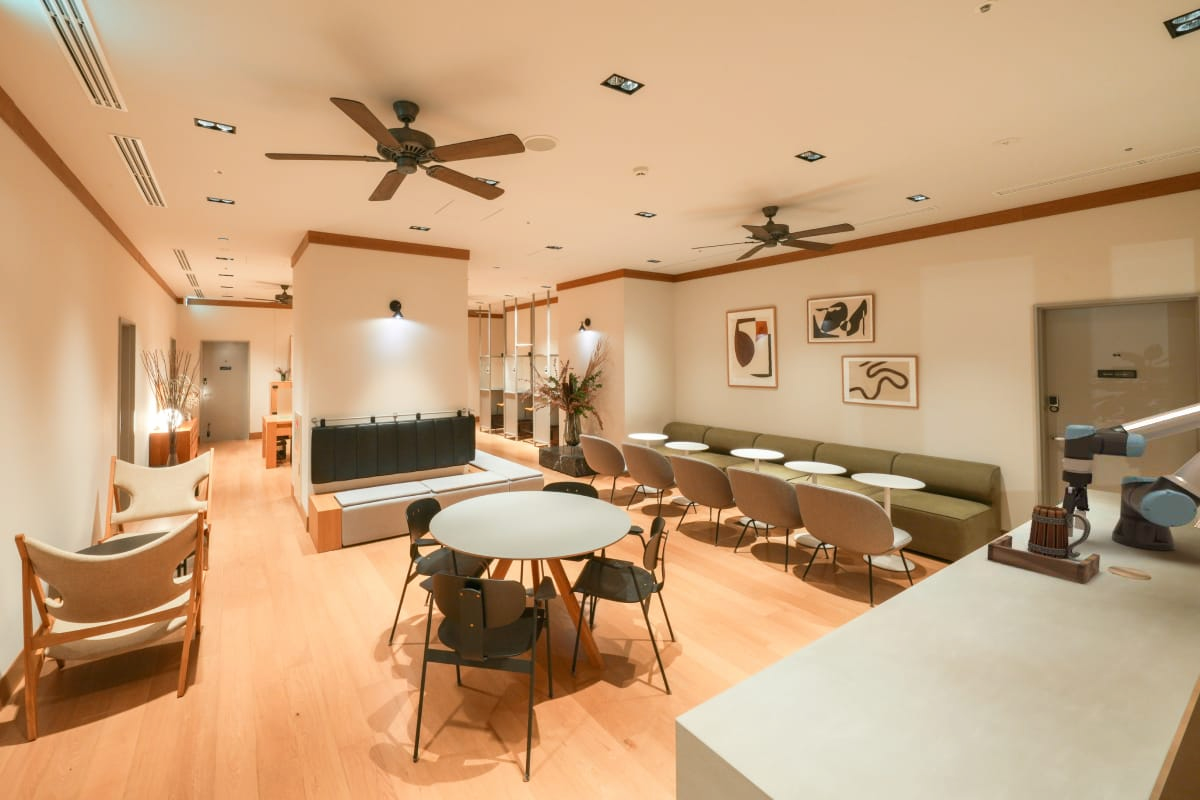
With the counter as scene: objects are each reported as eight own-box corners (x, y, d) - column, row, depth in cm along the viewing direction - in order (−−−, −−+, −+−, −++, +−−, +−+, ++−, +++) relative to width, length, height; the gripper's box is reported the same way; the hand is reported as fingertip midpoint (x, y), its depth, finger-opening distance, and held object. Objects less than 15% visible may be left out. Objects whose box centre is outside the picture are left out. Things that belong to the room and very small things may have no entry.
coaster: (1112, 566, 163) (1112, 564, 163) (1154, 576, 155) (1154, 573, 155) (1103, 573, 157) (1104, 570, 157) (1146, 583, 150) (1147, 580, 150)
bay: (1006, 549, 177) (1006, 535, 177) (1099, 571, 158) (1099, 554, 158) (987, 559, 168) (988, 544, 168) (1083, 583, 149) (1084, 566, 149)
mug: (1020, 550, 176) (1022, 506, 175) (1038, 545, 181) (1040, 502, 180) (1078, 566, 162) (1081, 518, 161) (1096, 560, 167) (1098, 513, 166)
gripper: (1074, 465, 190) (1070, 523, 191) (1050, 473, 176) (1047, 536, 177) (1102, 468, 184) (1098, 529, 185) (1080, 477, 169) (1076, 542, 171)
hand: (1073, 532), depth 181 cm, fingers open, 13 cm apart
